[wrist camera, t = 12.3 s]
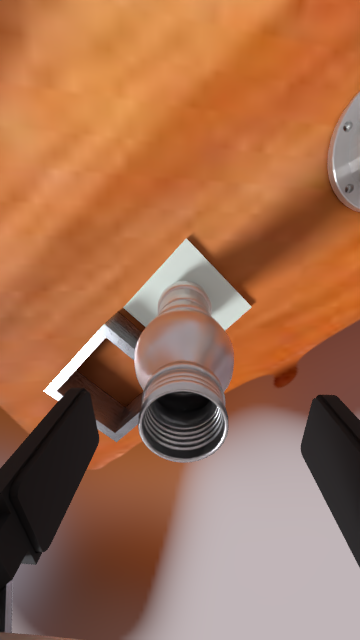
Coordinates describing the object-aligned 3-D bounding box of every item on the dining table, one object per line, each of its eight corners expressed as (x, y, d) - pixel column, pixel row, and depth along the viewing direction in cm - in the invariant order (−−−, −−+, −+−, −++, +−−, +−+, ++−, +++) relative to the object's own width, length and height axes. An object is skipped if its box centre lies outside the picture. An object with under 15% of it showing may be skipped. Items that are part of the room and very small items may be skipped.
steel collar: (118, 311, 29) (104, 323, 24) (181, 366, 31) (180, 388, 26) (65, 370, 32) (43, 391, 27) (126, 415, 35) (116, 442, 30)
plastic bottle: (210, 278, 26) (280, 348, 7) (208, 328, 28) (256, 489, 9) (159, 278, 26) (88, 347, 7) (160, 328, 28) (109, 486, 9)
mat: (186, 238, 25) (186, 238, 24) (250, 305, 28) (251, 306, 27) (125, 306, 28) (123, 307, 28) (187, 360, 31) (187, 363, 30)
